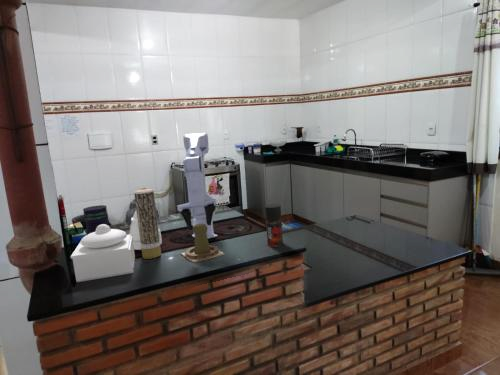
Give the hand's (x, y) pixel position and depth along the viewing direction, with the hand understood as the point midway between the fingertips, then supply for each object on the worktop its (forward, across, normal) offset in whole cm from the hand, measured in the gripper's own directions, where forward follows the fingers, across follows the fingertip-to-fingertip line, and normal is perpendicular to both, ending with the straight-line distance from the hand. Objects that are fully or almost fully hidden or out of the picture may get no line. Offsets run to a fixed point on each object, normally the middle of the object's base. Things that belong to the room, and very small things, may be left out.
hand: (199, 227), depth 132 cm
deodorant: (+11, +26, -10) cm, 30 cm away
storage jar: (+11, -26, +53) cm, 60 cm away
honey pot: (+11, -12, +29) cm, 33 cm away
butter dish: (+11, -31, +12) cm, 35 cm away
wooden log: (+11, -15, +12) cm, 22 cm away
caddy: (+10, 0, 0) cm, 10 cm away
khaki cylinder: (+10, 0, 0) cm, 10 cm away
